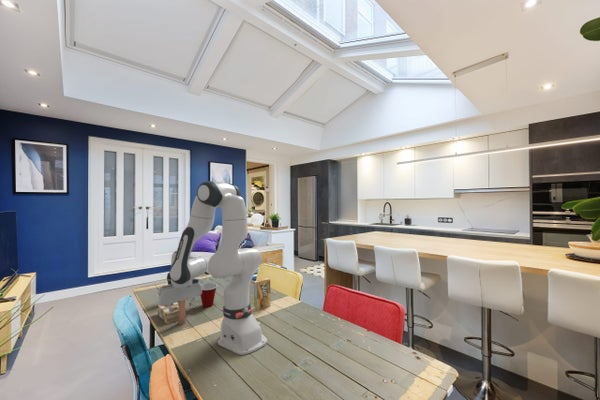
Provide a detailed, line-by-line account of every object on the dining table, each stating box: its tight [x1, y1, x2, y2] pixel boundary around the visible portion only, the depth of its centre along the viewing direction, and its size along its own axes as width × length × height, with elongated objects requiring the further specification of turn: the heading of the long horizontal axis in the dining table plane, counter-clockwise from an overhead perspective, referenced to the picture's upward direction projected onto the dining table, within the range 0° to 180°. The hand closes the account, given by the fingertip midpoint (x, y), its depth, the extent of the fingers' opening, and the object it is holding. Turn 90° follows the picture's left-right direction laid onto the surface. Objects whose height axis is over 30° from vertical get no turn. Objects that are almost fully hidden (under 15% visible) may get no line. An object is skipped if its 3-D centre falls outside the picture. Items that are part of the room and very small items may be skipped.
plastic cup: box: [200, 282, 218, 308], centre depth 150 cm, size 11×11×12 cm
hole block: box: [157, 302, 187, 325], centre depth 137 cm, size 16×9×5 cm, turn 45°
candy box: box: [253, 278, 271, 311], centre depth 147 cm, size 9×4×15 cm, turn 129°
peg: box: [178, 300, 186, 326], centre depth 128 cm, size 3×3×12 cm
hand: (181, 308), depth 129 cm, fingers open, 8 cm apart
